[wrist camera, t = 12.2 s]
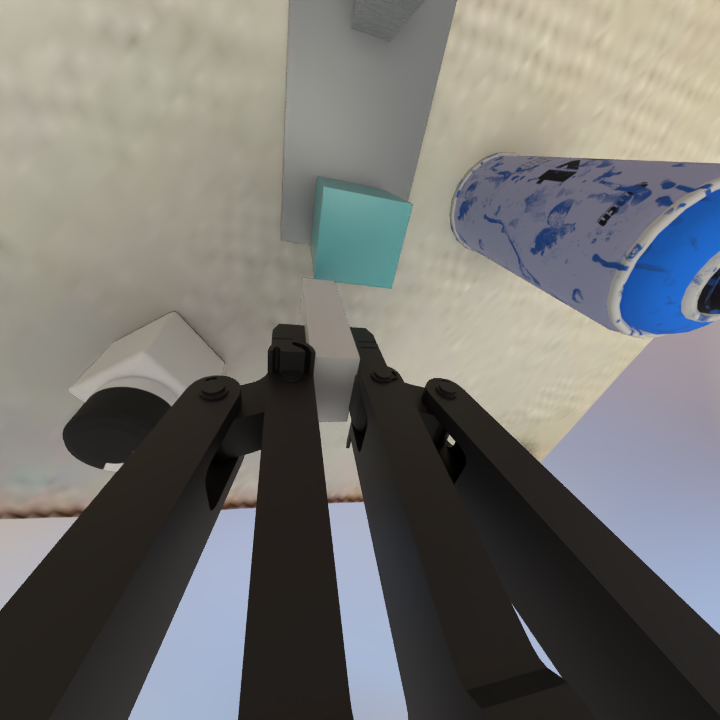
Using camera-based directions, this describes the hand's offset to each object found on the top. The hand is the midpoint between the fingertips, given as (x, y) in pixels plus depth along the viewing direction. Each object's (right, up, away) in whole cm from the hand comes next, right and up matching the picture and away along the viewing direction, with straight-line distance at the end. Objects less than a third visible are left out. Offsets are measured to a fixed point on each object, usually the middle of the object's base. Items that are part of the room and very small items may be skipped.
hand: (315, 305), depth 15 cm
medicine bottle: (-17, -2, +15) cm, 22 cm away
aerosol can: (+14, +11, +12) cm, 21 cm away
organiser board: (+2, +14, +7) cm, 16 cm away
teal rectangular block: (+1, +9, +10) cm, 13 cm away
